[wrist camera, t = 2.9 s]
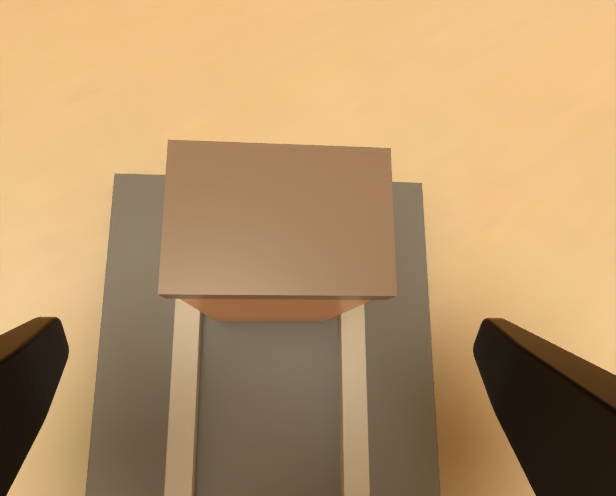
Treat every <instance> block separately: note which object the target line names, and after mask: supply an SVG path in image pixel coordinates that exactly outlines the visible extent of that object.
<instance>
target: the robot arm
mask: <svg viewBox="0 0 616 496" xmlns="http://www.w3.org/2000/svg"><path fill="white" fill-rule="evenodd" d="M473 353H474V357H475V360H476V363H477V366H478V369H479V371H480V374H481V377H482V380H483V383H484V385H485V388H486V391H487V394H488V396H489V399H490V402H491V404H492V407H493V409H494V412H495V414H496V416H497V418H498V420H499V422H500V424H501V426H502V428H503V430H504V432H505V434H506V436H507V438H508V440H509V442H510V444H511V446H512V448H513V450H514V452H515V454H516V456H517V458H518V460H519V463H520V465H521V467H522V469H523V471H524V473H525V475H526V477H527V479H528V481H529V483H530V485H531V487H532V489H533V491H534V493H535V495H536V496H616V375H614V374H612V373H610V372H608V371H606V370H604V369H602V368H600V367H598V366H596V365H594V364H592V363H590V362H588V361H586V360H584V359H582V358H580V357H578V356H576V355H574V354H572V353H570V352H568V351H566V350H564V349H562V348H560V347H558V346H556V345H554V344H553V343H551V342H549V341H547V340H545V339H543V338H541V337H539V336H537V335H535V334H533V333H531V332H529V331H527V330H525V329H523V328H521V327H519V326H517V325H515V324H513V323H511V322H509V321H507V320H505V319H502V318H486V319H484V320H483V321H482V323H481V326H480V329H479V331H478V334H477V337H476V340H475V343H474V347H473ZM68 354H69V347H68V343H67V339H66V336H65V333H64V329H63V326H62V323H61V321H60V319H59V318H57V317H37V318H34V319H32V320H30V321H28V322H26V323H24V324H22V325H20V326H18V327H16V328H14V329H12V330H10V331H8V332H6V333H4V334H2V335H0V496H6V495H7V493H8V491H9V489H10V487H11V485H12V484H13V482H14V480H15V478H16V476H17V474H18V472H19V470H20V468H21V466H22V464H23V462H24V460H25V458H26V456H27V454H28V452H29V450H30V448H31V446H32V444H33V442H34V441H35V439H36V437H37V435H38V433H39V431H40V429H41V427H42V425H43V423H44V420H45V418H46V416H47V413H48V411H49V408H50V406H51V403H52V400H53V397H54V395H55V392H56V389H57V387H58V384H59V381H60V378H61V376H62V373H63V370H64V367H65V365H66V362H67V359H68Z"/></svg>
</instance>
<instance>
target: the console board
mask: <svg viewBox="0 0 616 496" xmlns="http://www.w3.org/2000/svg"><path fill="white" fill-rule="evenodd" d="M165 178H166V175H144V174H115V175H114V186H113V197H112V208H111V219H110V230H109V241H108V252H107V263H106V274H105V285H104V296H103V307H102V318H101V329H100V340H99V352H98V363H97V374H96V385H95V396H94V407H93V418H92V429H91V440H90V451H89V462H88V473H87V484H86V495H85V496H440V484H439V467H438V450H437V433H436V416H435V399H434V382H433V365H432V348H431V331H430V313H429V296H428V279H427V262H426V245H425V228H424V211H423V194H422V183H403V182H392V192H393V215H394V238H395V260H396V283H397V296H396V297H394V298H391V299H389V300H371V301H369V302H367V303H365V304H362V305H360V306H358V307H356V308H354V309H351V310H349V311H347V312H345V313H343V314H340V315H338V316H336V317H334V318H332V319H329V320H327V321H325V322H217V321H215V320H213V319H212V318H210V317H208V316H207V315H205V314H204V313H202V312H200V311H199V310H197V309H195V308H194V307H192V306H190V305H189V304H187V303H185V302H184V301H182V300H181V299H166V298H164V297H162V296H160V295H158V285H159V269H160V254H161V239H162V224H163V209H164V193H165Z"/></svg>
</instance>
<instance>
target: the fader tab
mask: <svg viewBox="0 0 616 496" xmlns="http://www.w3.org/2000/svg"><path fill="white" fill-rule="evenodd" d="M158 295H160V296H162V297H164V298H166V299H181V300H182V301H184V302H185V303H187V304H189V305H190V306H192V307H194V308H195V309H197V310H199V311H200V312H202V313H204V314H205V315H207V316H208V317H210V318H212V319H213V320H215V321H217V322H325V321H327V320H329V319H332V318H334V317H336V316H338V315H340V314H343V313H345V312H347V311H349V310H351V309H354V308H356V307H358V306H360V305H362V304H365V303H367V302H369V301H371V300H389V299H391V298H394V297H396V296H397V283H396V260H395V238H394V215H393V192H392V170H391V148H372V147H346V146H319V145H293V144H266V143H240V142H213V141H187V140H168V148H167V163H166V178H165V193H164V209H163V224H162V239H161V254H160V269H159V285H158Z"/></svg>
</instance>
